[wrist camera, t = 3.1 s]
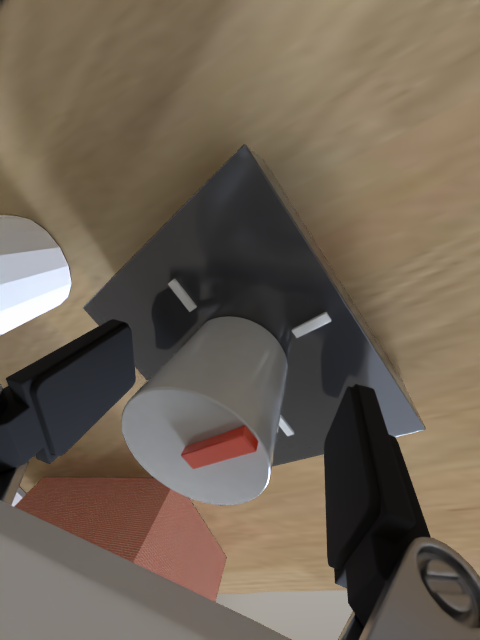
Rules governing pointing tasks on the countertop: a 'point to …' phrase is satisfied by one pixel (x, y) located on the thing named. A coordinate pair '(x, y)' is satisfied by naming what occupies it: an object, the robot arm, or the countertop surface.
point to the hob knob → (212, 413)
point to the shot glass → (29, 272)
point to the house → (134, 525)
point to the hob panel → (255, 301)
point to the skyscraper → (18, 496)
